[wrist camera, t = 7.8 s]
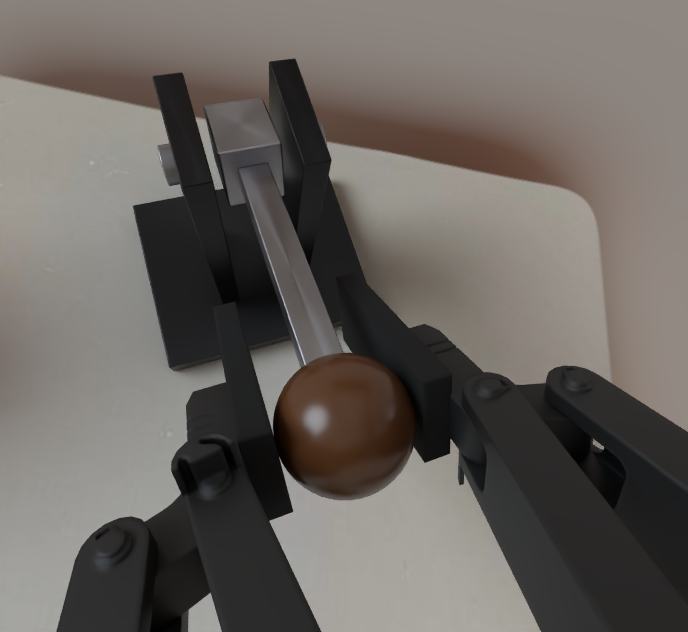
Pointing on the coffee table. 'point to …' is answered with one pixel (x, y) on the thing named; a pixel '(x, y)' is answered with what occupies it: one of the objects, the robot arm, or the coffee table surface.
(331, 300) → the black lever base
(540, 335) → the coffee table surface
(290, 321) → the lever with brown knob
